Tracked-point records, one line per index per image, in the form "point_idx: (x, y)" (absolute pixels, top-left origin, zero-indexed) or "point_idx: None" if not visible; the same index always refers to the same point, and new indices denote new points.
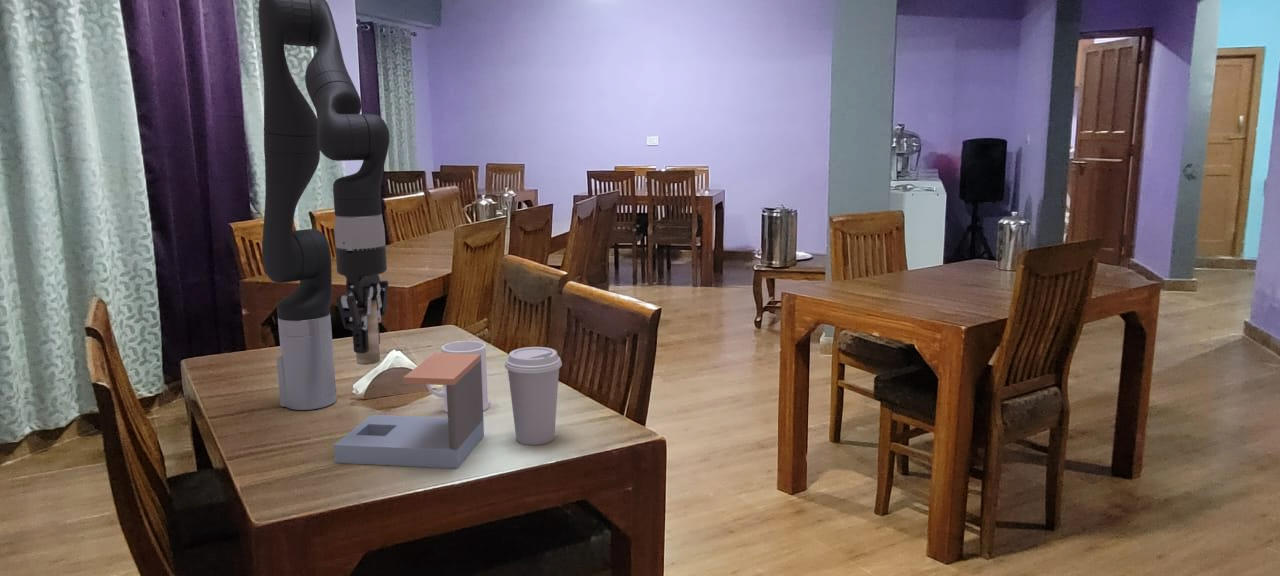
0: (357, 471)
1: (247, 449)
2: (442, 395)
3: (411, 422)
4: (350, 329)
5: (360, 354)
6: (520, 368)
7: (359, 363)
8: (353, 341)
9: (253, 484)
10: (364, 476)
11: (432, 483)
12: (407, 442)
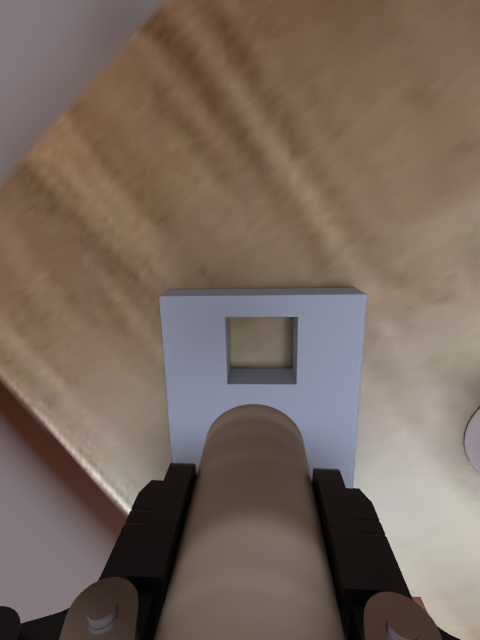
0: (141, 350)
1: (209, 27)
2: None
3: (317, 408)
4: (95, 584)
5: (198, 467)
6: None
7: (209, 430)
8: (155, 504)
9: (39, 176)
10: (123, 371)
11: (122, 486)
12: (199, 440)
